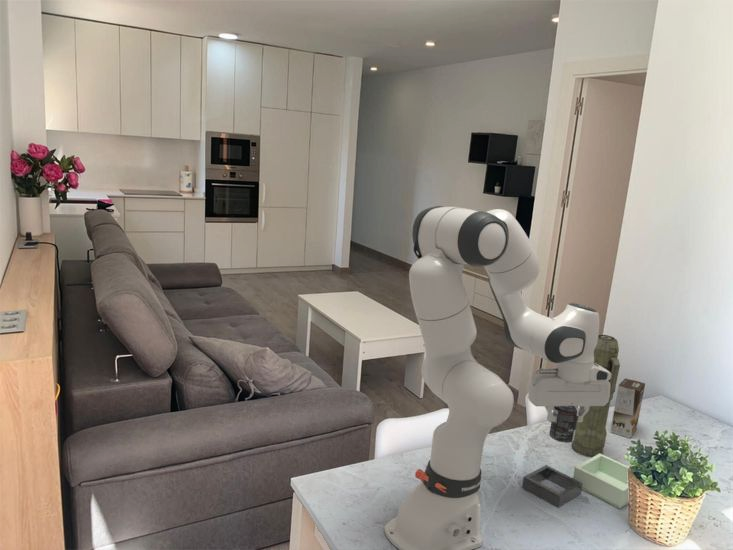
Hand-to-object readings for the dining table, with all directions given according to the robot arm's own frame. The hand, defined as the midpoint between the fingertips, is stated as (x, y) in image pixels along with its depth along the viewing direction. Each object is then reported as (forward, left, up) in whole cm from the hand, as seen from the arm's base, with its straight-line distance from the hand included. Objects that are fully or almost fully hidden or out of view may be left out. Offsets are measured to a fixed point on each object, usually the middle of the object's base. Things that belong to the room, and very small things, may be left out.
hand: (564, 421), depth 143 cm
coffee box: (+51, +6, -19) cm, 55 cm away
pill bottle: (0, 0, -5) cm, 5 cm away
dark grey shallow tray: (-1, 0, -19) cm, 19 cm away
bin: (+13, -8, -19) cm, 25 cm away
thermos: (+28, +6, -19) cm, 35 cm away
